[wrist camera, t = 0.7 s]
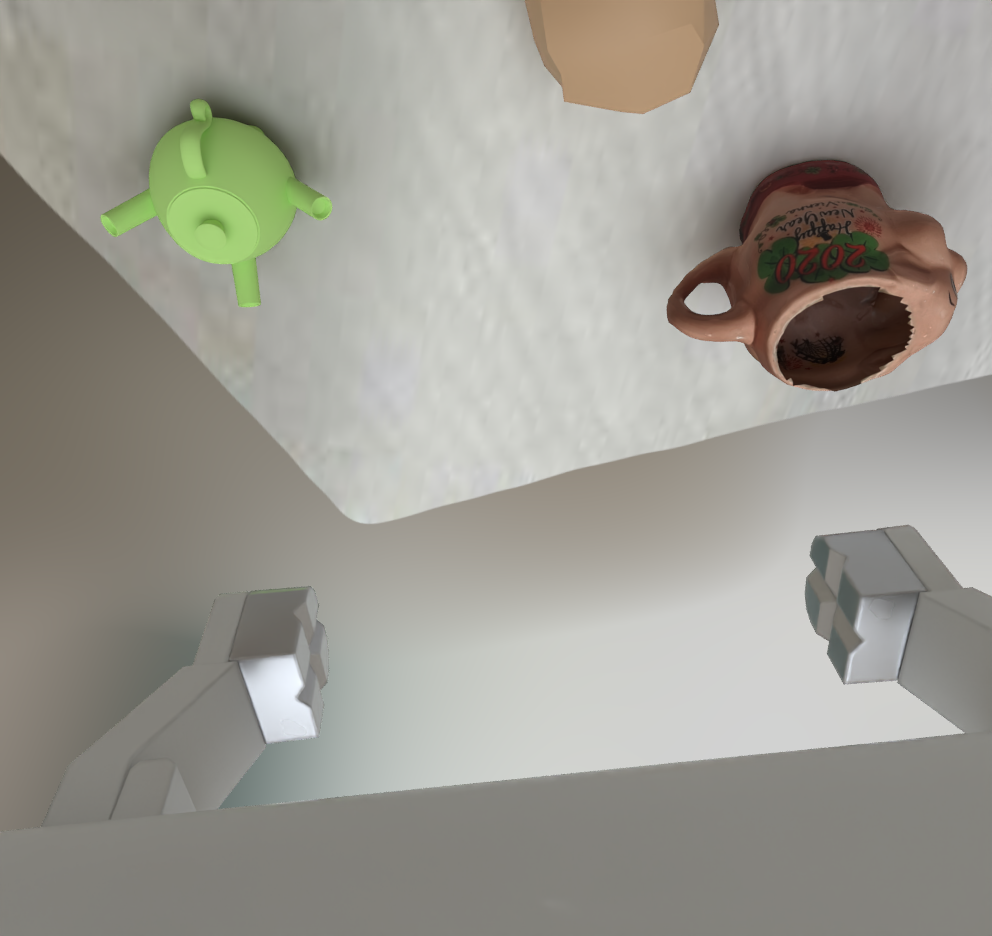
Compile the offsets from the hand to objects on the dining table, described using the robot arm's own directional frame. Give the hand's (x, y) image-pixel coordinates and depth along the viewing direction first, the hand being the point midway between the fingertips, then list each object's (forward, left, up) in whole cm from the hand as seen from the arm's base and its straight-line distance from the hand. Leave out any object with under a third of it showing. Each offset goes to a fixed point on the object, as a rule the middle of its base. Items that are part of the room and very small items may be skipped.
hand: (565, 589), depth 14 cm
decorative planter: (+5, +33, -48) cm, 58 cm away
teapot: (+26, -1, -48) cm, 55 cm away
